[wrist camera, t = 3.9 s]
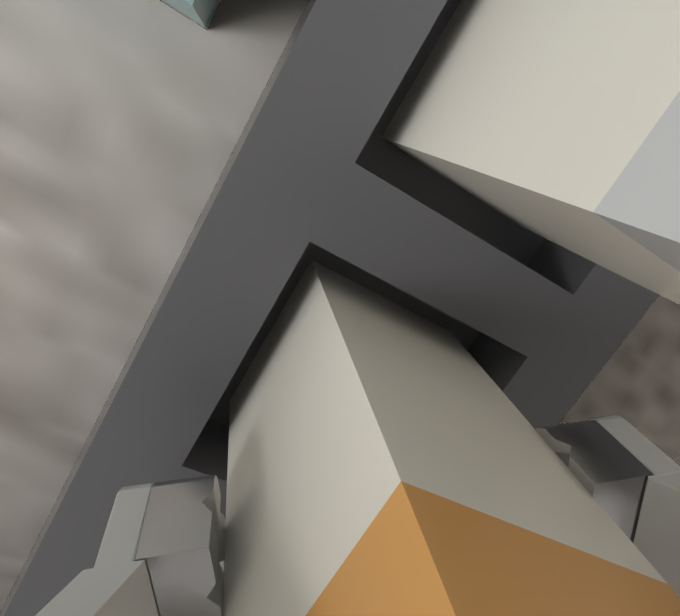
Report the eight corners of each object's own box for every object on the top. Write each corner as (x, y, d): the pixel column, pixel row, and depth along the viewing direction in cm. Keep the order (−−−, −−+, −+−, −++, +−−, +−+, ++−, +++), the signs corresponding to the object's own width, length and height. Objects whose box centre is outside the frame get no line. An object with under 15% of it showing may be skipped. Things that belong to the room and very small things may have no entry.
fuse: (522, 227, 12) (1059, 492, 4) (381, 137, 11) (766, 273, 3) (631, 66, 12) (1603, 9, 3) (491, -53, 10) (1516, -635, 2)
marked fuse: (367, 454, 14) (538, 953, 6) (230, 399, 13) (209, 941, 5) (451, 331, 13) (791, 727, 5) (311, 259, 12) (463, 635, 4)
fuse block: (285, 661, 18) (293, 763, 15) (7, 597, 15) (-44, 708, 13) (727, 48, 13) (860, 37, 10) (427, -235, 10) (498, -361, 7)
